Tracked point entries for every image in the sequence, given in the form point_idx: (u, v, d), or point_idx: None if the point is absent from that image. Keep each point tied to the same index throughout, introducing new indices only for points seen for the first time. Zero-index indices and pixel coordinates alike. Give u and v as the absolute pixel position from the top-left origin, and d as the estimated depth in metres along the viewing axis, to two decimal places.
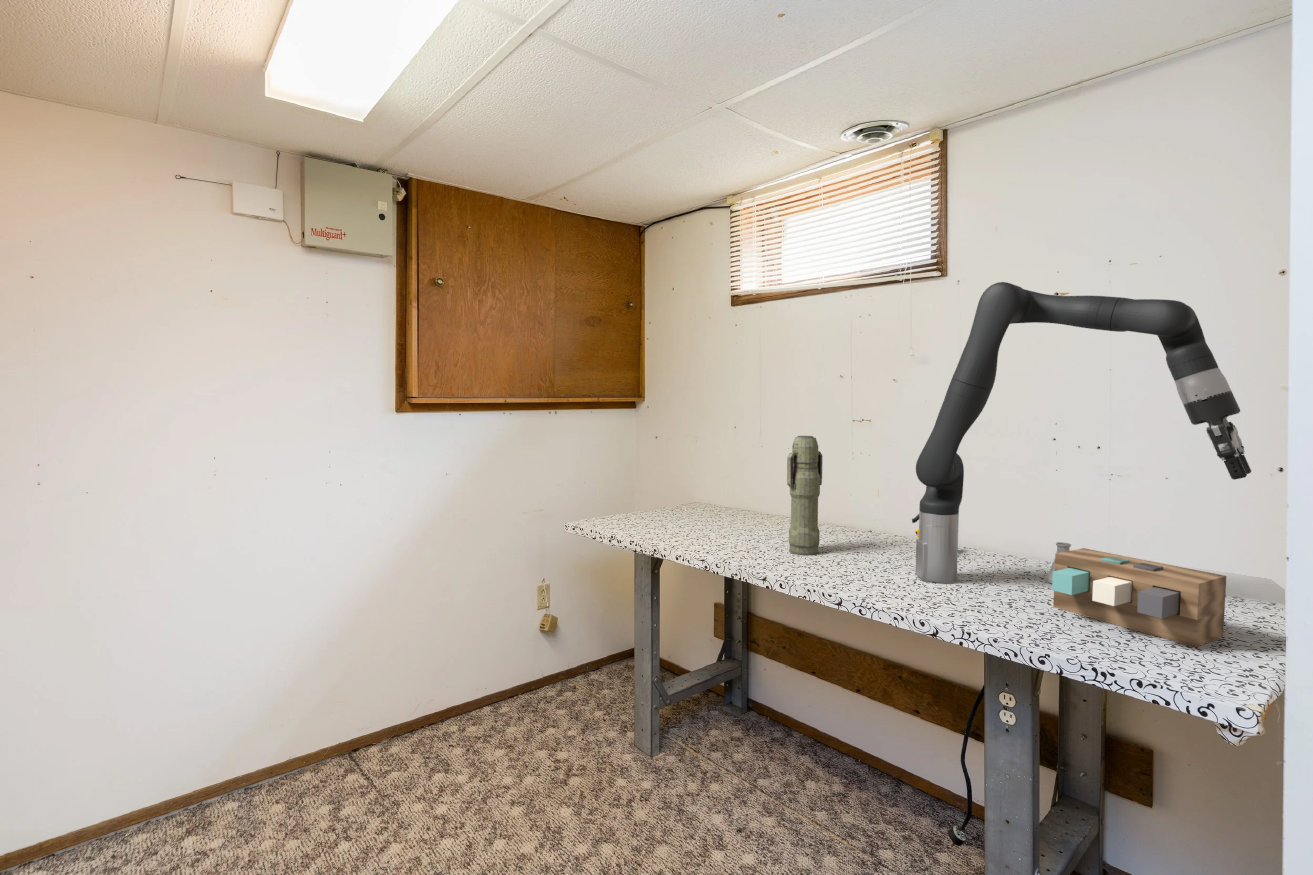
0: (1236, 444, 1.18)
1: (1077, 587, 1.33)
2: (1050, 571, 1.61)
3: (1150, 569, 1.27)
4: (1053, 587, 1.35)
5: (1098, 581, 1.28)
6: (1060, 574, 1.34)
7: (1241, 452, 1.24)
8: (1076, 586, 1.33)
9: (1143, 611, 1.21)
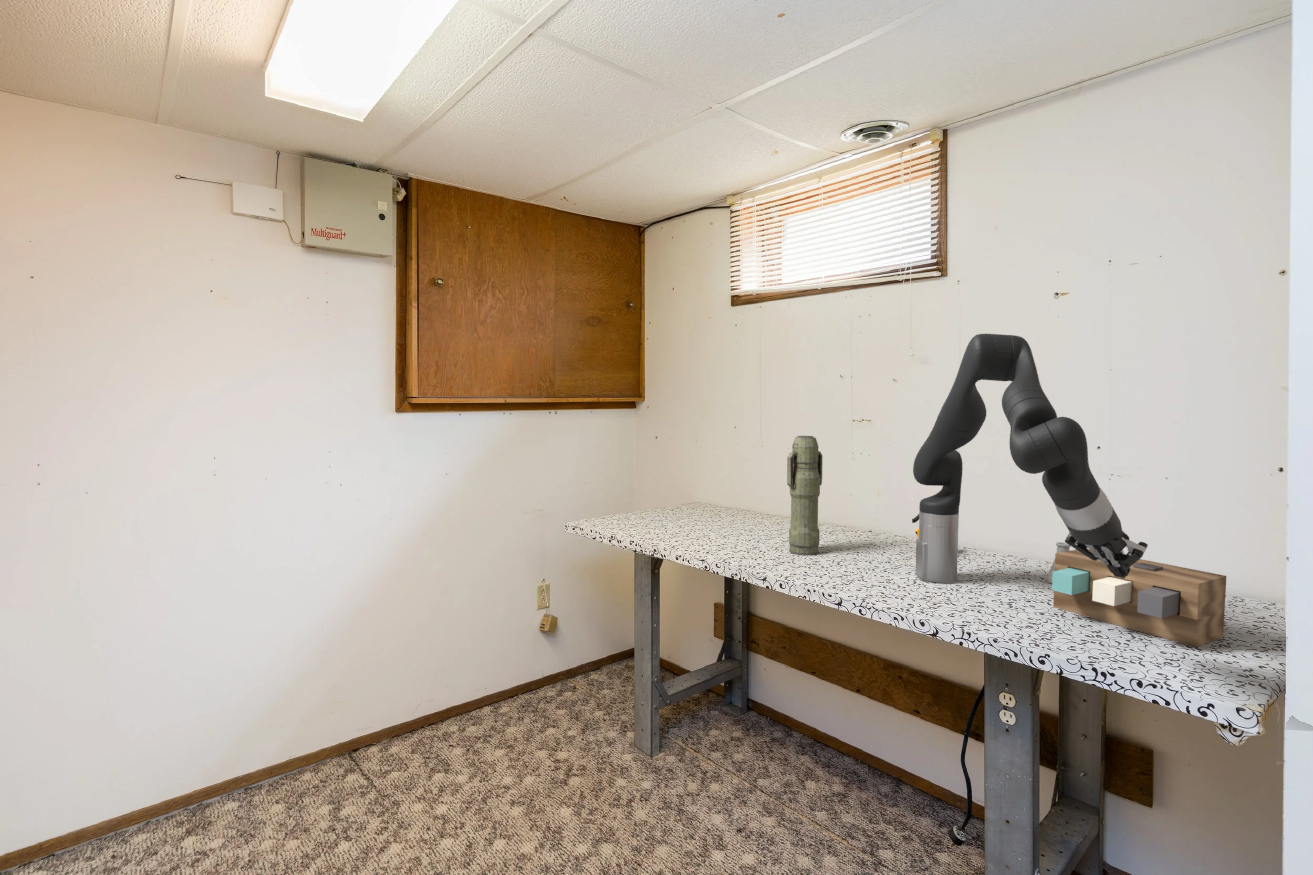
0: None
1: (1077, 587, 1.33)
2: (1050, 571, 1.61)
3: (1150, 569, 1.27)
4: (1053, 587, 1.35)
5: (1098, 581, 1.28)
6: (1060, 574, 1.34)
7: None
8: (1076, 586, 1.33)
9: (1143, 611, 1.21)
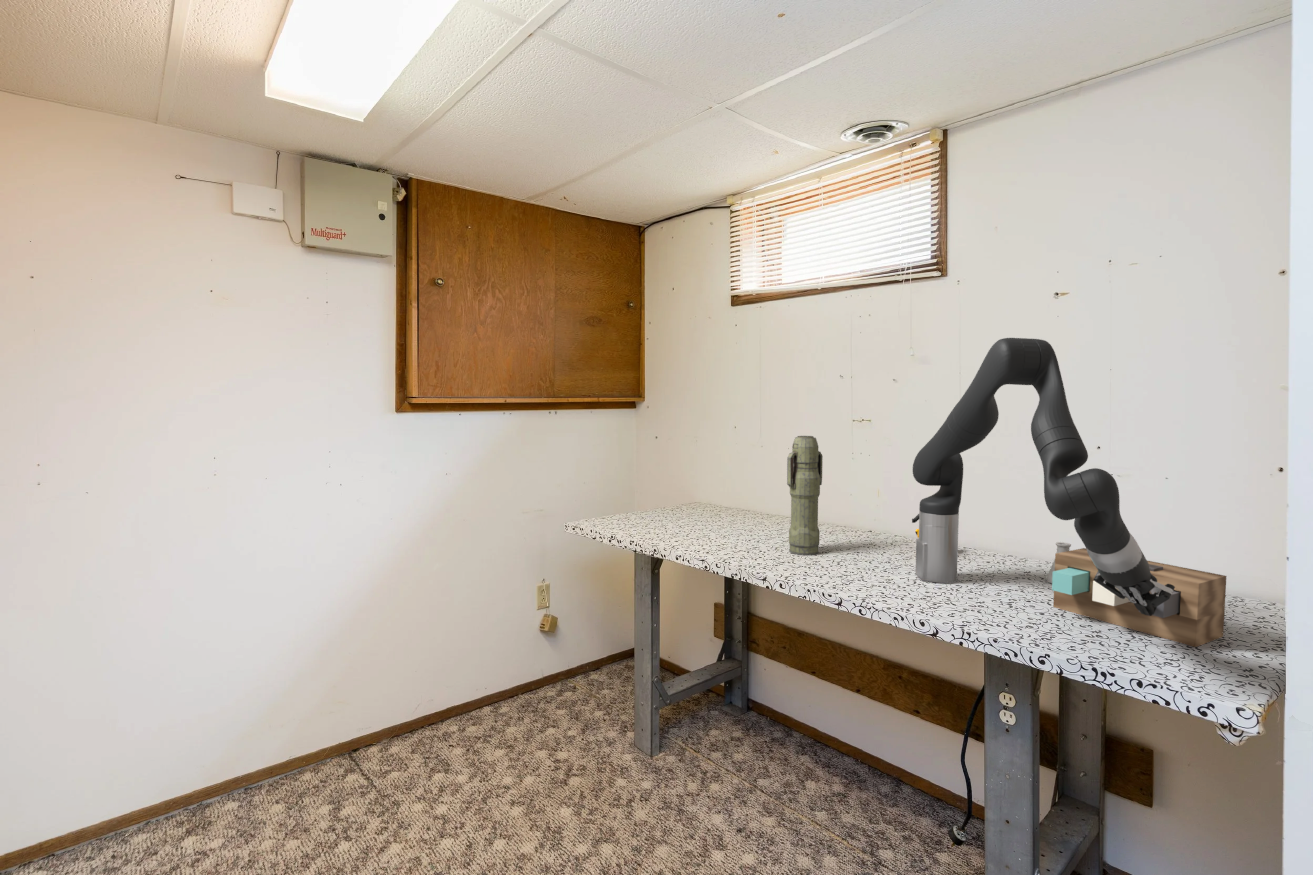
0: None
1: (1077, 587, 1.33)
2: (1050, 571, 1.61)
3: (1150, 569, 1.27)
4: (1053, 587, 1.35)
5: None
6: (1060, 574, 1.34)
7: None
8: (1076, 586, 1.33)
9: None
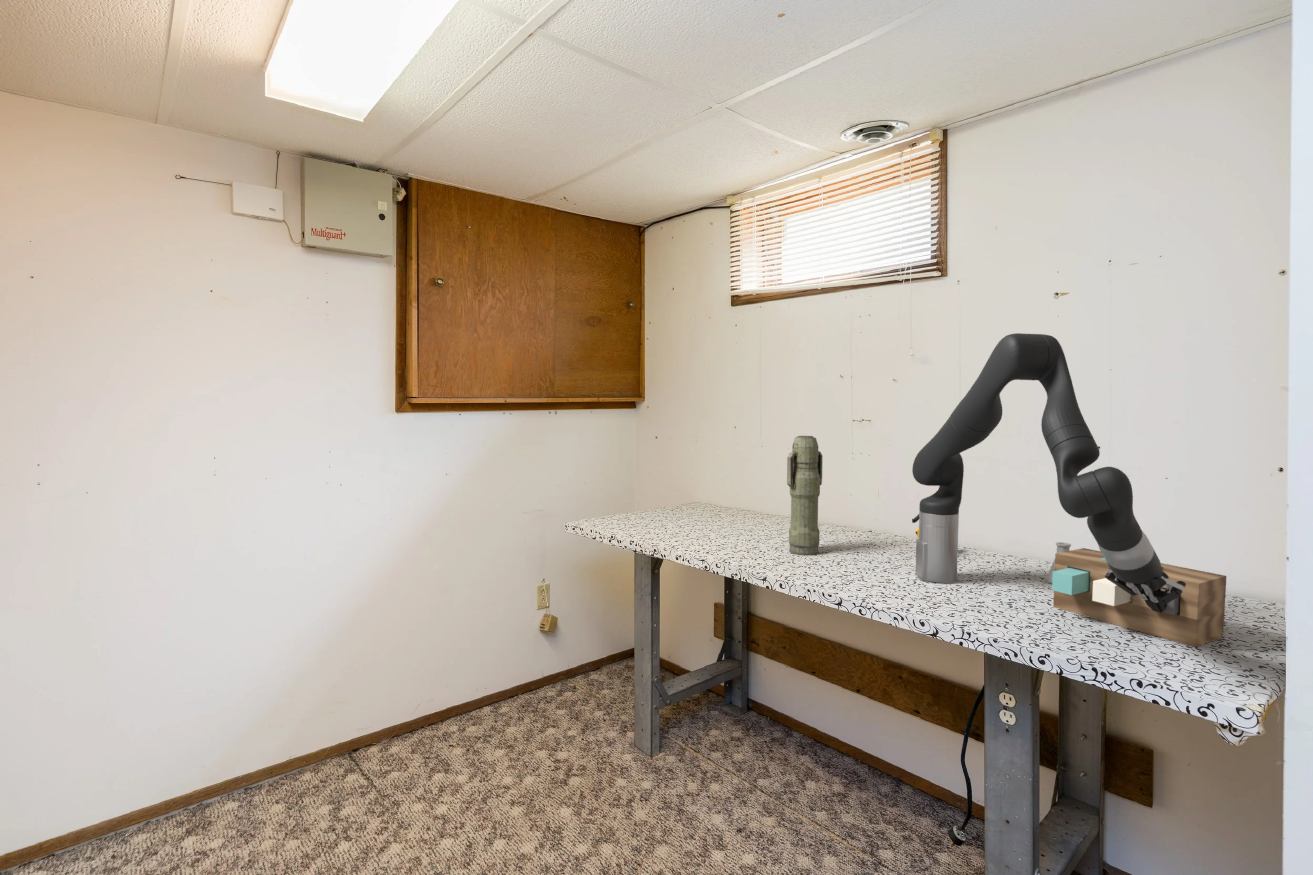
0: None
1: (1077, 587, 1.33)
2: (1050, 571, 1.61)
3: None
4: (1053, 587, 1.35)
5: (1098, 581, 1.28)
6: (1060, 574, 1.34)
7: None
8: (1076, 586, 1.33)
9: None
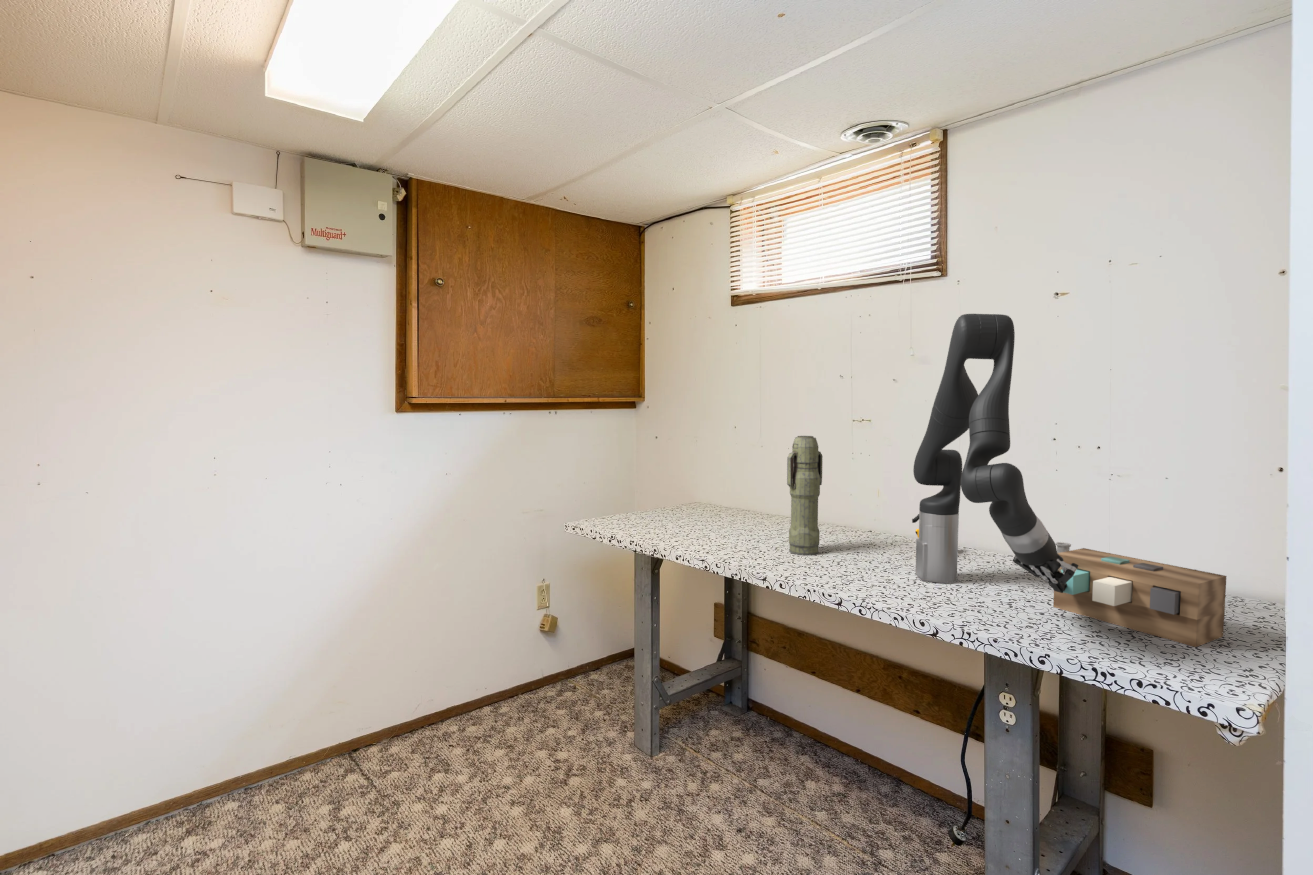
0: None
1: (1078, 586, 1.33)
2: None
3: (1150, 569, 1.27)
4: None
5: (1098, 581, 1.28)
6: None
7: None
8: (1077, 585, 1.33)
9: (1155, 607, 1.23)
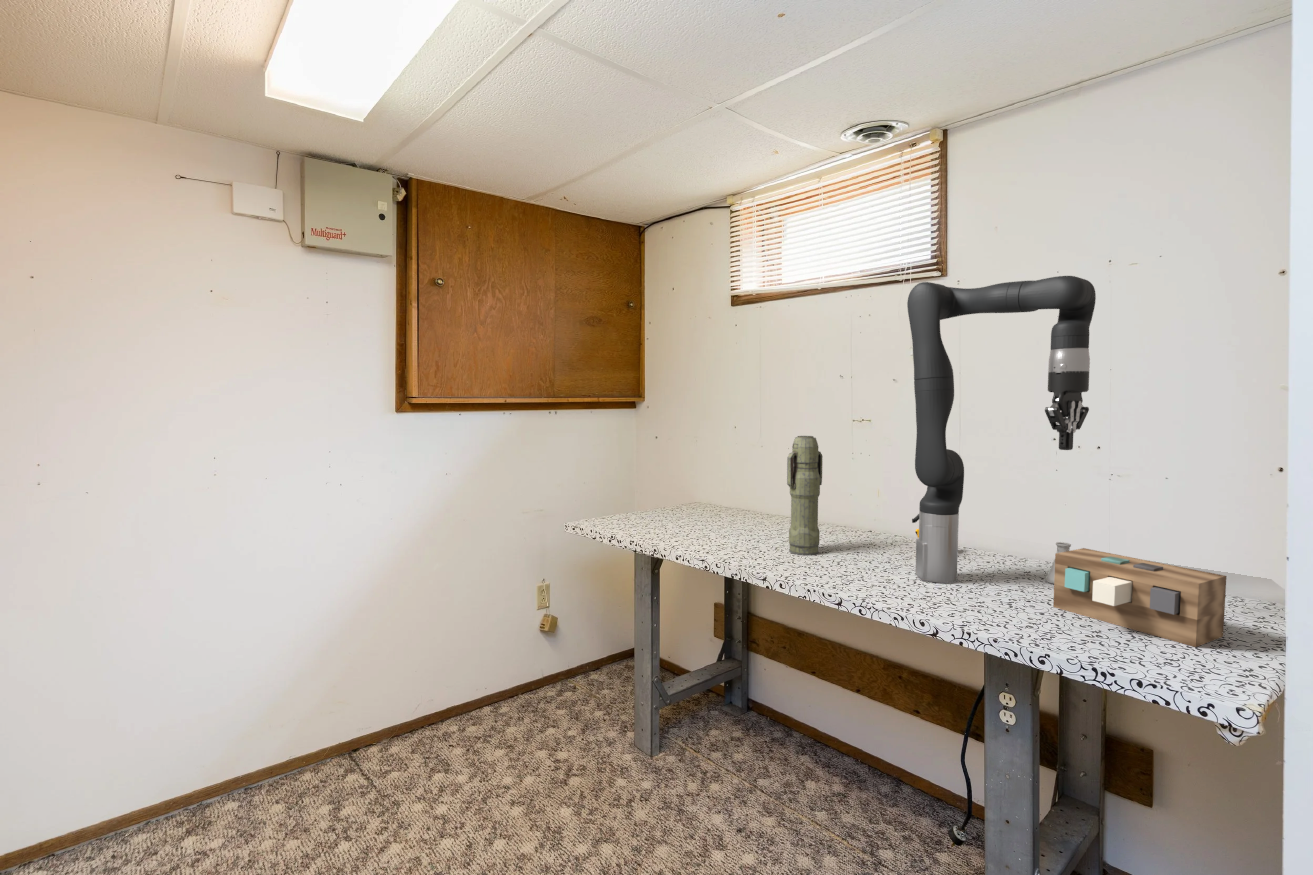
0: (1070, 421, 1.37)
1: (1089, 584, 1.35)
2: (1050, 571, 1.61)
3: (1150, 569, 1.27)
4: (1066, 584, 1.38)
5: (1098, 581, 1.28)
6: (1073, 571, 1.36)
7: (1071, 428, 1.39)
8: (1089, 583, 1.35)
9: (1155, 607, 1.23)
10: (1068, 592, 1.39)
